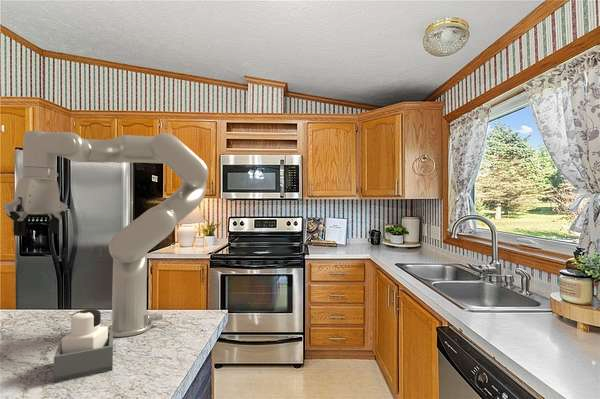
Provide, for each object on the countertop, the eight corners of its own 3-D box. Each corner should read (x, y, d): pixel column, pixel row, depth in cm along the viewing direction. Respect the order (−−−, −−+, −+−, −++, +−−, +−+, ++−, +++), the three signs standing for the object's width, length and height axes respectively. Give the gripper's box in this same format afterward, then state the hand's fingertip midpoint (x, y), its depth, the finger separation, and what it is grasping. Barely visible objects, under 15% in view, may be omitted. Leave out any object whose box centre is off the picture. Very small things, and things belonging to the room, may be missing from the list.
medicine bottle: (78, 355, 83) (79, 307, 83) (108, 354, 84) (108, 306, 84) (60, 369, 76) (61, 316, 76) (93, 368, 76) (93, 315, 77)
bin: (112, 351, 87) (113, 330, 87) (112, 370, 78) (112, 346, 78) (60, 361, 82) (61, 339, 82) (53, 382, 72) (53, 357, 72)
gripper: (57, 177, 104) (56, 232, 104) (-5, 171, 87) (-7, 236, 87) (76, 177, 102) (75, 232, 102) (16, 171, 86) (14, 237, 85)
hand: (37, 234), depth 94 cm, fingers open, 9 cm apart
